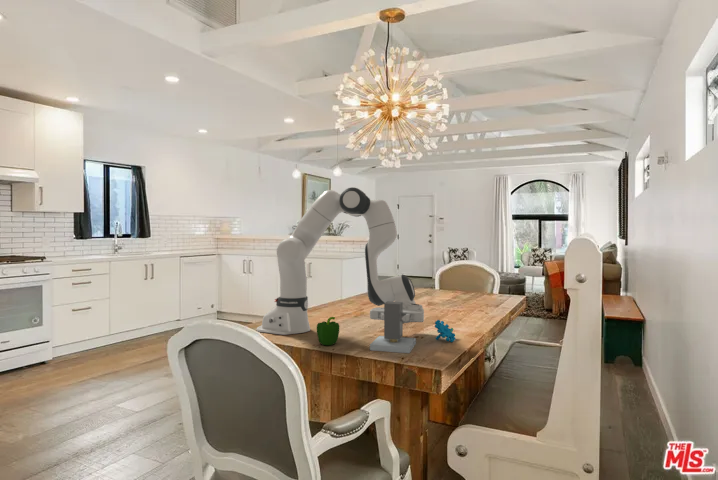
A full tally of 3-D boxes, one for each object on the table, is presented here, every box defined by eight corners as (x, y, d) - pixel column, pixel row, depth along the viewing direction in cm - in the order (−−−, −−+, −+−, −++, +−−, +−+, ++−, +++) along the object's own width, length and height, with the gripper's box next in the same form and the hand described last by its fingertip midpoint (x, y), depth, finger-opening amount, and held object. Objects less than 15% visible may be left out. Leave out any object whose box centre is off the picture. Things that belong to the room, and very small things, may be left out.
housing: (384, 338, 161) (384, 303, 160) (387, 334, 166) (387, 301, 166) (399, 339, 159) (399, 304, 159) (402, 335, 164) (402, 301, 164)
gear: (447, 340, 165) (432, 318, 171) (436, 350, 168) (422, 328, 173) (462, 339, 174) (447, 318, 179) (452, 348, 176) (437, 327, 181)
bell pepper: (315, 347, 162) (315, 319, 162) (317, 341, 170) (317, 315, 170) (339, 347, 162) (339, 319, 162) (339, 341, 170) (339, 315, 170)
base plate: (369, 350, 158) (369, 331, 158) (379, 341, 171) (379, 323, 171) (409, 353, 154) (409, 334, 154) (415, 343, 167) (415, 326, 167)
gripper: (374, 302, 178) (365, 308, 164) (426, 305, 172) (421, 311, 159) (374, 318, 178) (365, 325, 164) (426, 321, 172) (421, 329, 159)
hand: (393, 318), depth 161 cm, fingers closed on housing, 5 cm apart
